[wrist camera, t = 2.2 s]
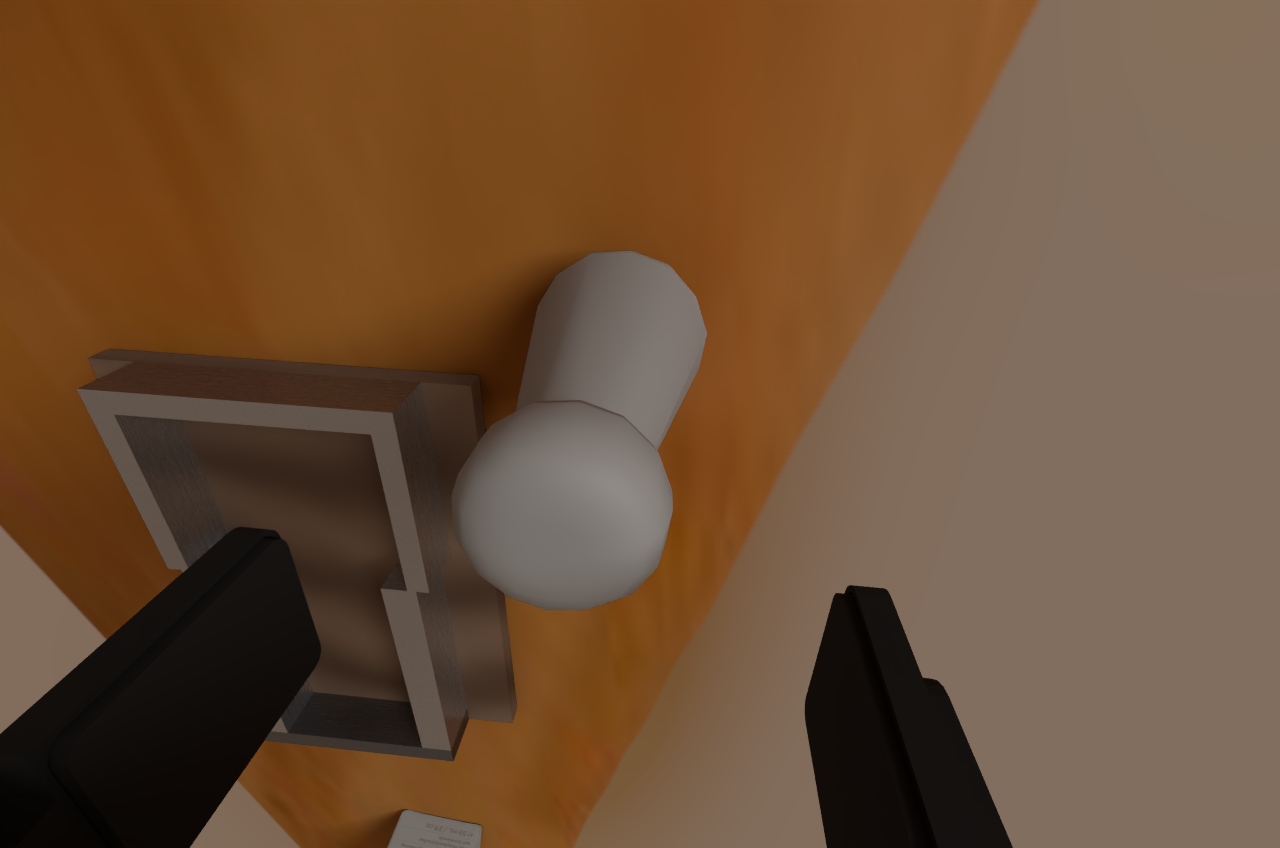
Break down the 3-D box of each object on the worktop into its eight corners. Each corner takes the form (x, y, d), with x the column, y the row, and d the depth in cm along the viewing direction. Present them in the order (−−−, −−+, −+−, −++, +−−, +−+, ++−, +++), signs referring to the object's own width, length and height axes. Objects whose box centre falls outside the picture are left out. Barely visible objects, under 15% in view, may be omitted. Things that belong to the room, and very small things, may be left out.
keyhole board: (109, 348, 24) (87, 358, 23) (478, 375, 23) (471, 385, 23) (261, 680, 35) (250, 695, 34) (517, 707, 34) (512, 723, 34)
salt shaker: (657, 203, 20) (604, 351, 8) (731, 342, 22) (768, 605, 11) (521, 285, 21) (327, 496, 10) (602, 405, 24) (517, 686, 12)
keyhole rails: (134, 361, 23) (76, 388, 21) (421, 382, 23) (392, 412, 21) (283, 698, 34) (255, 739, 32) (479, 719, 34) (464, 762, 32)
